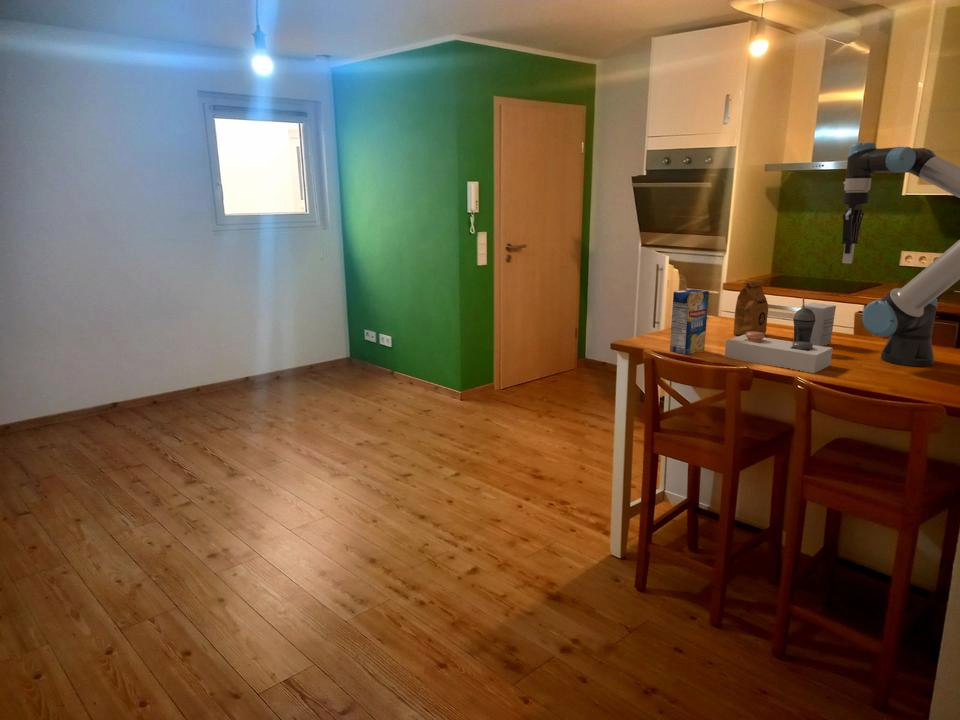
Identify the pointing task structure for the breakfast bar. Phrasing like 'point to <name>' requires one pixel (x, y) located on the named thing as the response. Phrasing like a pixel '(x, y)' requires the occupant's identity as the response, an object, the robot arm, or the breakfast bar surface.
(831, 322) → the supplement box
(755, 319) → the coffee package
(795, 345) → the charcoal plunger
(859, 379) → the breakfast bar surface
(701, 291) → the beverage box
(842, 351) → the breakfast bar surface
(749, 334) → the terracotta plunger
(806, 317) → the beverage cup
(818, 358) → the plunger panel
